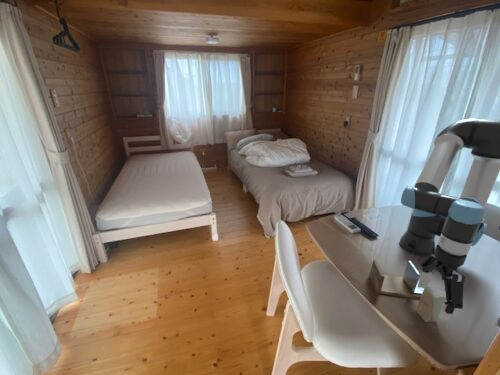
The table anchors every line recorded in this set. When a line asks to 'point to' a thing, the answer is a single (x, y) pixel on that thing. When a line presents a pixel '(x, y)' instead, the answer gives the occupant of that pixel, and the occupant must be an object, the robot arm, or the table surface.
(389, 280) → the rack
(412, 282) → the bookend
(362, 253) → the table surface
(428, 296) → the box
